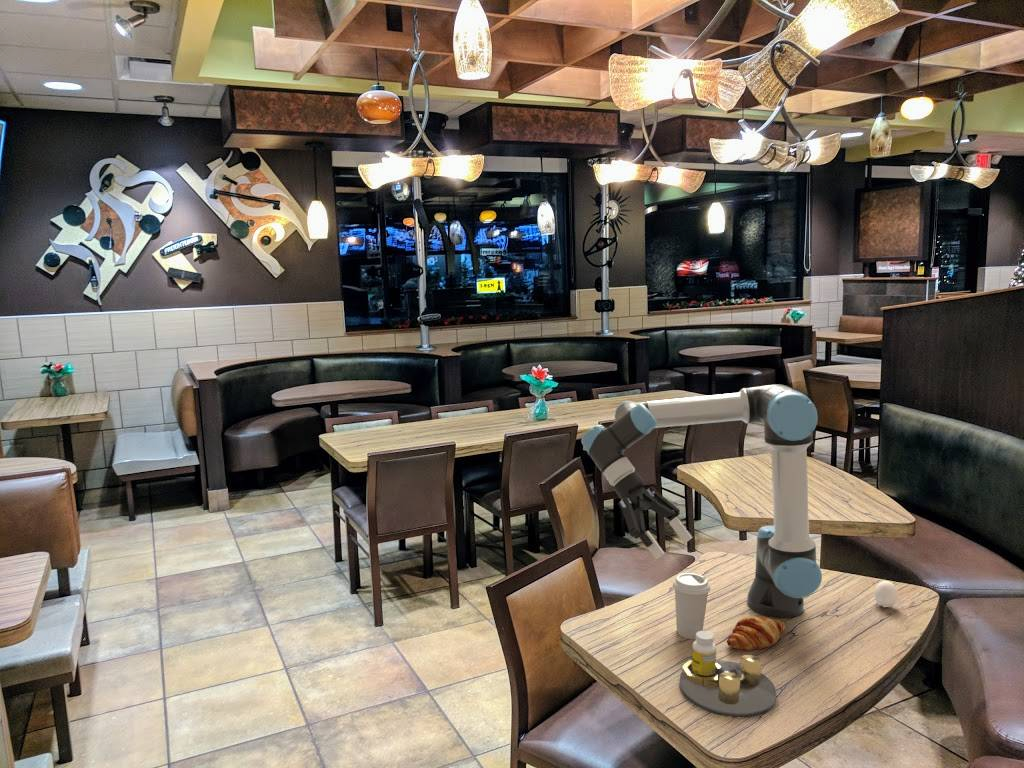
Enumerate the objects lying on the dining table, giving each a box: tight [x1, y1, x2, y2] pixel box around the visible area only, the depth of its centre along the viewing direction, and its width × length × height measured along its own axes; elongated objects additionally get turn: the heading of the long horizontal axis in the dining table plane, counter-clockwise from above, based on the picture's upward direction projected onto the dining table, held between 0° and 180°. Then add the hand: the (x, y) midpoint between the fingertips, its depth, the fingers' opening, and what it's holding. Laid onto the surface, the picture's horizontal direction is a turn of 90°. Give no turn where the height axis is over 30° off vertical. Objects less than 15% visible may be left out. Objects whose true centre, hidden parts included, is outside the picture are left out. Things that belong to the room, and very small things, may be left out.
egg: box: [873, 580, 899, 608], centre depth 212 cm, size 6×6×8 cm
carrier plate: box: [679, 654, 777, 718], centre depth 169 cm, size 21×21×6 cm
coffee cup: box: [672, 572, 711, 640], centre depth 195 cm, size 10×10×15 cm
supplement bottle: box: [691, 630, 717, 678], centre depth 173 cm, size 5×5×10 cm
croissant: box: [726, 615, 786, 651], centre depth 192 cm, size 21×10×8 cm, turn 124°
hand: (674, 548), depth 185 cm, fingers open, 13 cm apart
